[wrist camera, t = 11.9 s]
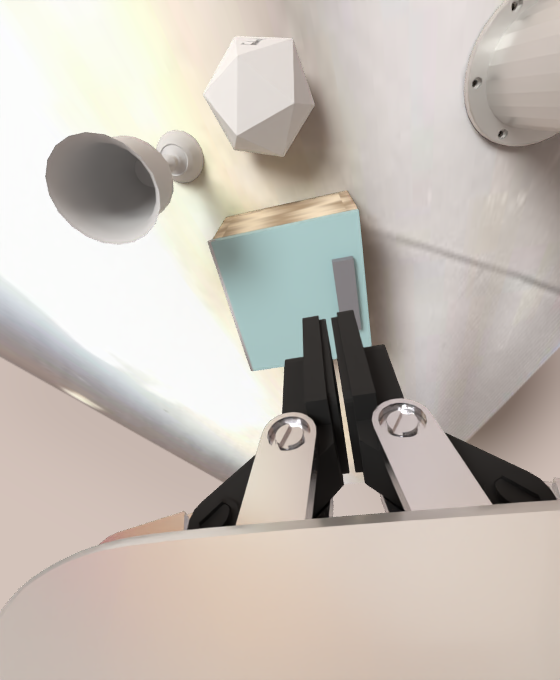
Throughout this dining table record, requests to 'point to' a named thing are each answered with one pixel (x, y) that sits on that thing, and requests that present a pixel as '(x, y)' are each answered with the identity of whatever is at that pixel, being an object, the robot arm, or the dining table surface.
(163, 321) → the dining table surface
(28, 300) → the dining table surface
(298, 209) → the chest
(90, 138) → the chalice
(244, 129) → the die
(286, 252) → the lid
